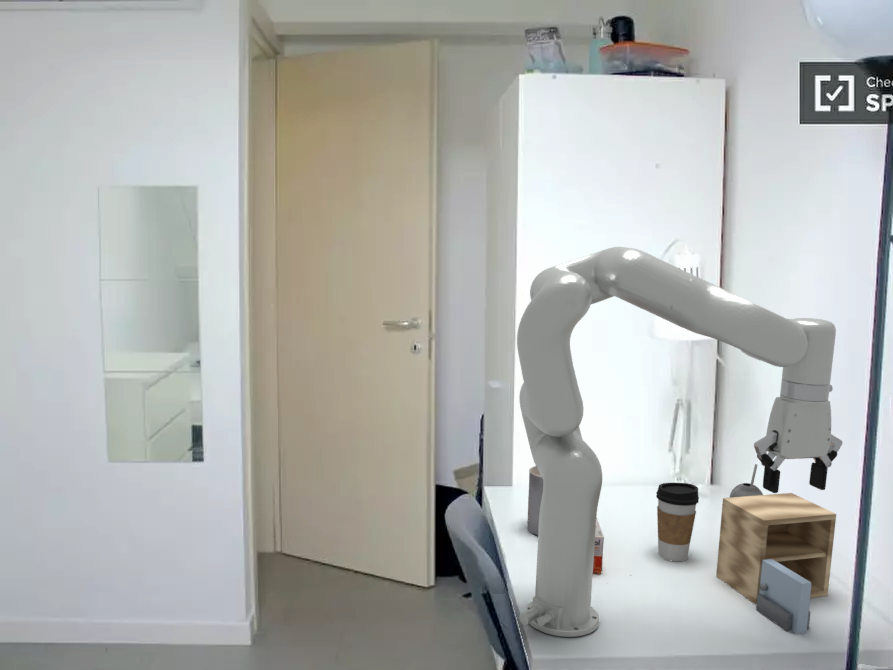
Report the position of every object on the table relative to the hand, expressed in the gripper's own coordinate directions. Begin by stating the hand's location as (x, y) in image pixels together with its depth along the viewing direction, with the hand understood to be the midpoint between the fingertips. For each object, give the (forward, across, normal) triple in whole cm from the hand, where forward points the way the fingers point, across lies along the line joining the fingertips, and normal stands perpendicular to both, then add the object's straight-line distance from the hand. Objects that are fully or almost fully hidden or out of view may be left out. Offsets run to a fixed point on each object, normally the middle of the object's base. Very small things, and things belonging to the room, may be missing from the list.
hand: (793, 489), depth 141 cm
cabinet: (+24, -8, -12) cm, 27 cm away
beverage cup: (+24, -11, -25) cm, 37 cm away
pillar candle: (+24, +23, -47) cm, 58 cm away
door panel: (+24, 0, 0) cm, 24 cm away
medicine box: (+24, +24, -32) cm, 47 cm away
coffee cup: (+24, +3, -28) cm, 37 cm away
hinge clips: (+24, 0, 0) cm, 24 cm away
